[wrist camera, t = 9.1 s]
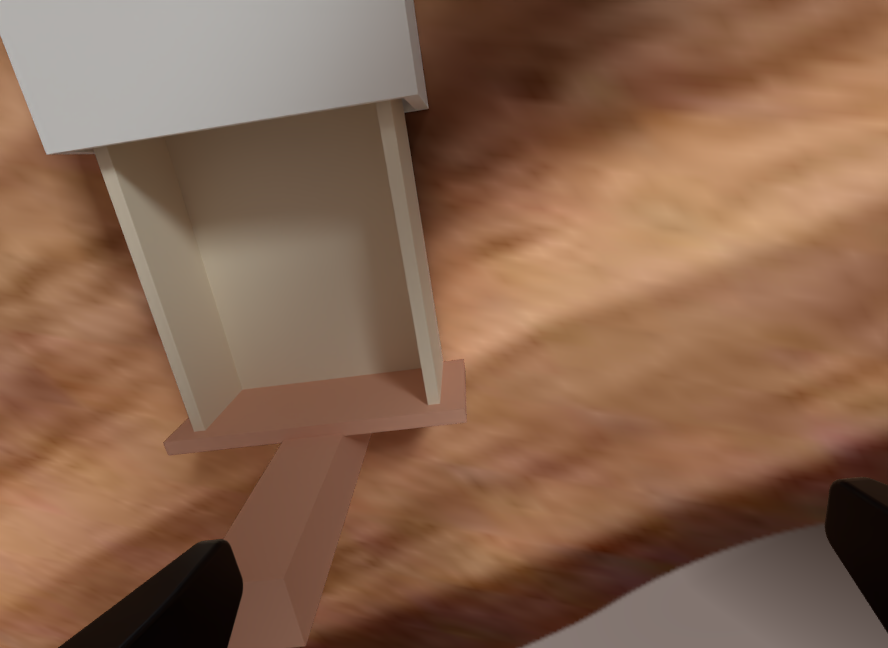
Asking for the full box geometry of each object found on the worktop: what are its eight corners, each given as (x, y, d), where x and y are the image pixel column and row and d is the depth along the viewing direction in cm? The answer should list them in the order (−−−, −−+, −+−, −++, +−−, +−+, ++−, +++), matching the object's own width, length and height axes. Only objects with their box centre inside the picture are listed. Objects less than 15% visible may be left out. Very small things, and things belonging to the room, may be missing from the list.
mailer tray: (405, -49, 15) (320, -369, 6) (471, 412, 20) (481, 632, 11) (94, 9, 15) (-425, -194, 6) (234, 439, 21) (58, 665, 12)
